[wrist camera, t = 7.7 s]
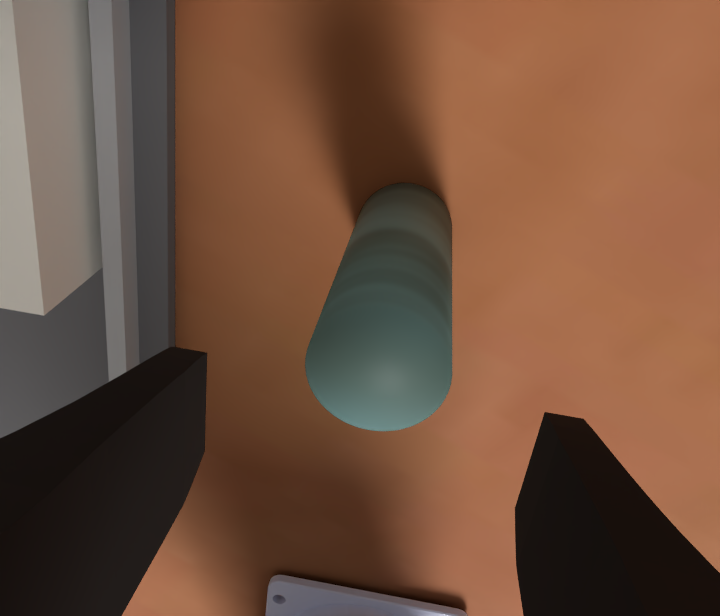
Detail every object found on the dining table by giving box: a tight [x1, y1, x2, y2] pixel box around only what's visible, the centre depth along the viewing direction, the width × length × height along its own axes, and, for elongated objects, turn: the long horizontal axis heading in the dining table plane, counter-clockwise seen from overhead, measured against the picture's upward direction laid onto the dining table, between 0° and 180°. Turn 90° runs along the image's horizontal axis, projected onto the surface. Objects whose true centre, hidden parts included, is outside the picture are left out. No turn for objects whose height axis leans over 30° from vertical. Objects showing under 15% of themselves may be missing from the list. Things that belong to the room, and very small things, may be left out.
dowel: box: [305, 183, 452, 431], centre depth 16 cm, size 3×3×8 cm
